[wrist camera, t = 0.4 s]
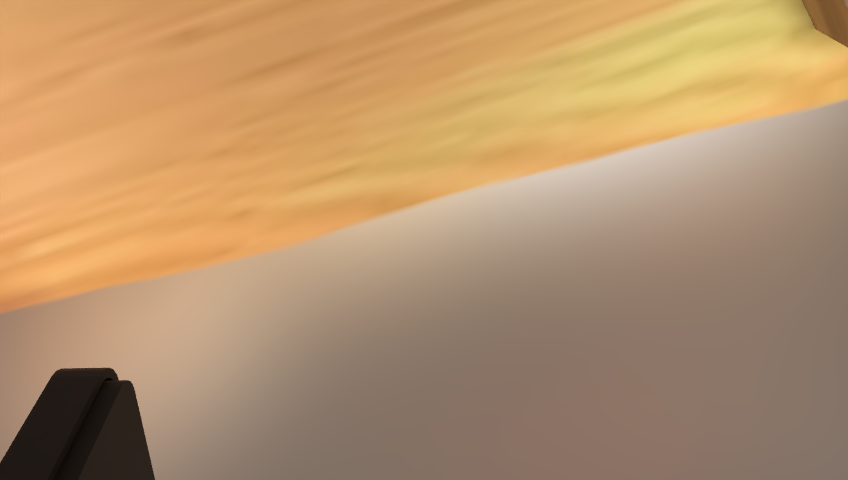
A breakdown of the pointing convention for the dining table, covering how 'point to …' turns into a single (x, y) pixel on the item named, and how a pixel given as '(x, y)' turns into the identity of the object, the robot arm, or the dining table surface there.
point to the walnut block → (830, 18)
